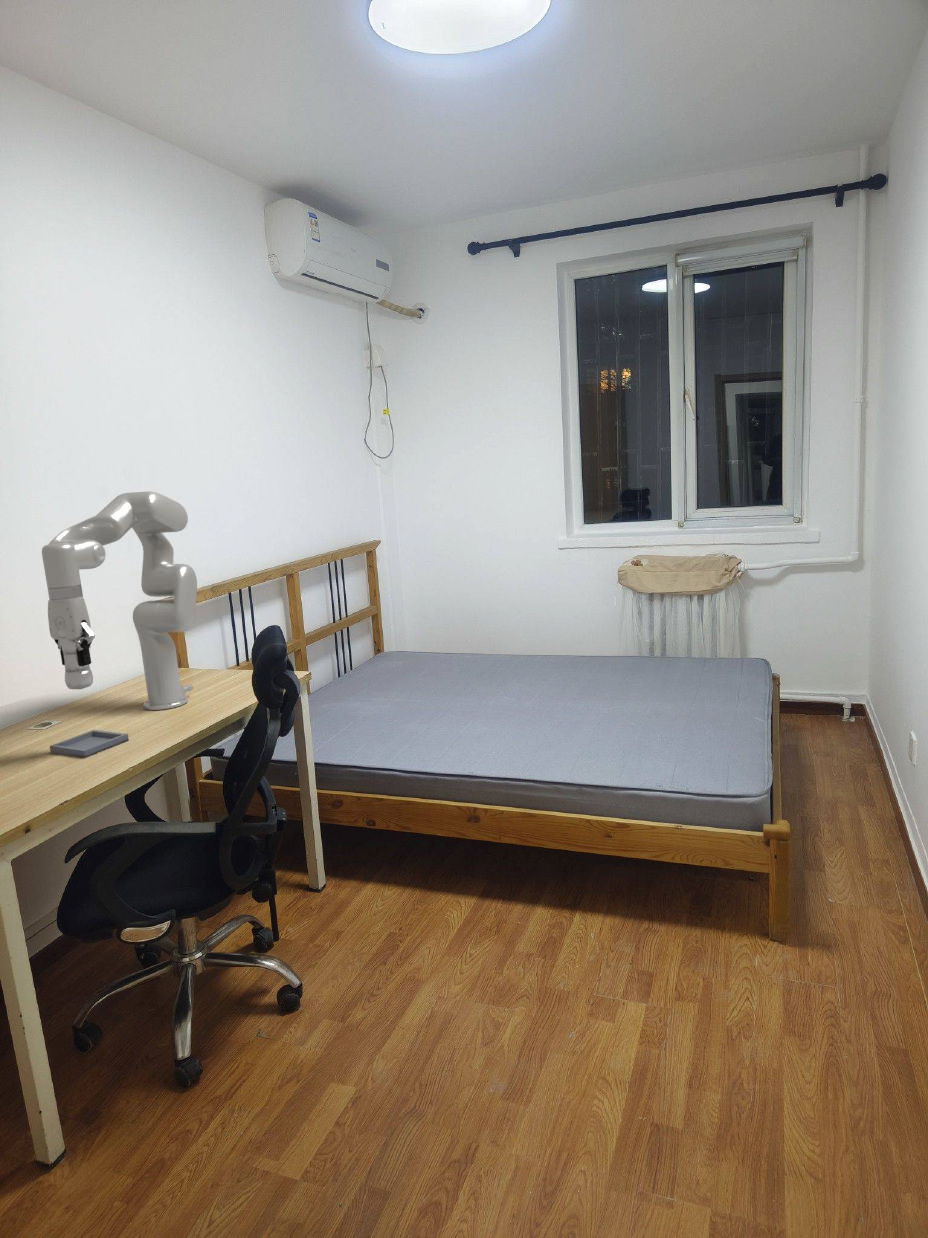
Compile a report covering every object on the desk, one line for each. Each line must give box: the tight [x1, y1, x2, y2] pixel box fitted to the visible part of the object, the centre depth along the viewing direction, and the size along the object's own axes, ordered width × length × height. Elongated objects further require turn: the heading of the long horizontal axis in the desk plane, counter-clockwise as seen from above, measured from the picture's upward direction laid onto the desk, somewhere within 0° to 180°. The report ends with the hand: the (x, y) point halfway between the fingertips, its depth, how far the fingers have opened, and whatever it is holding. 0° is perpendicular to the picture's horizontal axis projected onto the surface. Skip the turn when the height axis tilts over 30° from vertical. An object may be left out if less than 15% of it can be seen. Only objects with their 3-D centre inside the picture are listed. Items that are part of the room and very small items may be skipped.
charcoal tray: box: [49, 729, 130, 759], centre depth 202 cm, size 13×13×2 cm
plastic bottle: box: [58, 629, 94, 690], centre depth 197 cm, size 6×7×20 cm
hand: (76, 663), depth 198 cm, fingers closed on plastic bottle, 5 cm apart
